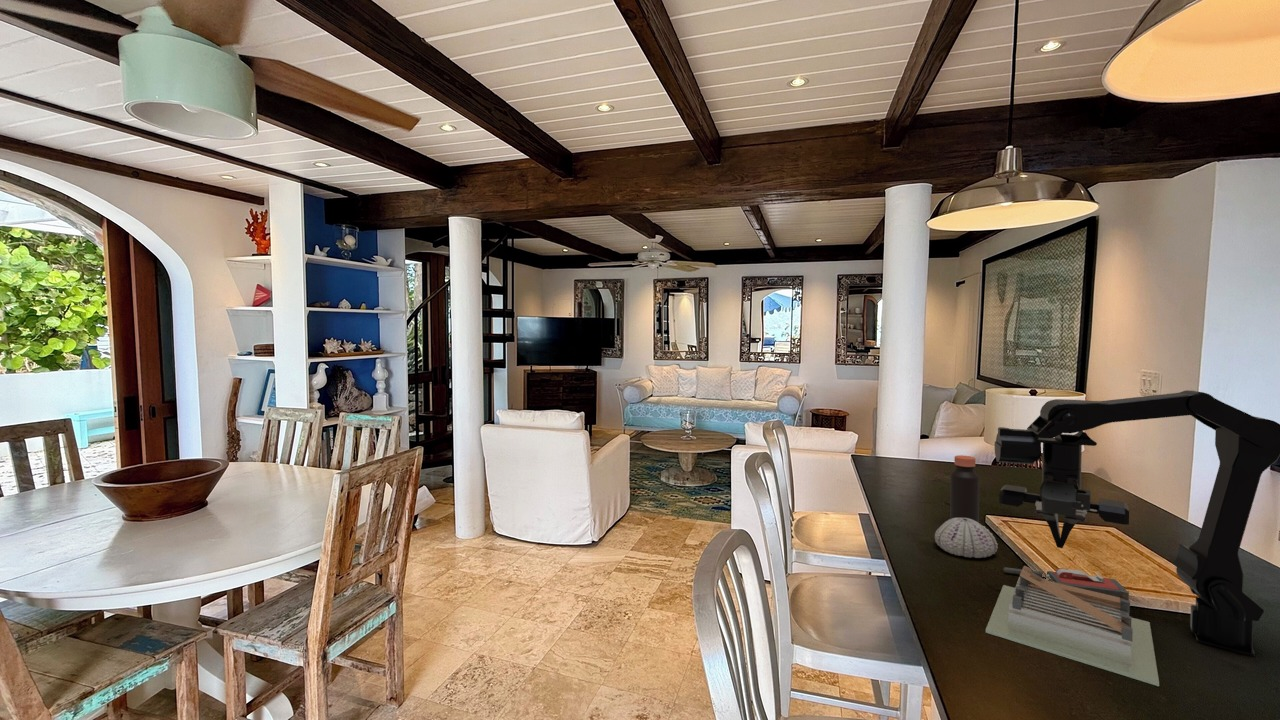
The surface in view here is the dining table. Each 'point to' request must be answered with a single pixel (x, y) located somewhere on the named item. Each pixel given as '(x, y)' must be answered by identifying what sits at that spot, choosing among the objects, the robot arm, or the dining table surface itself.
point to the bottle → (964, 489)
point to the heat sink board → (1075, 630)
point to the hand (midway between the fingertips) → (1059, 547)
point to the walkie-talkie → (1079, 580)
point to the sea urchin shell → (965, 538)
